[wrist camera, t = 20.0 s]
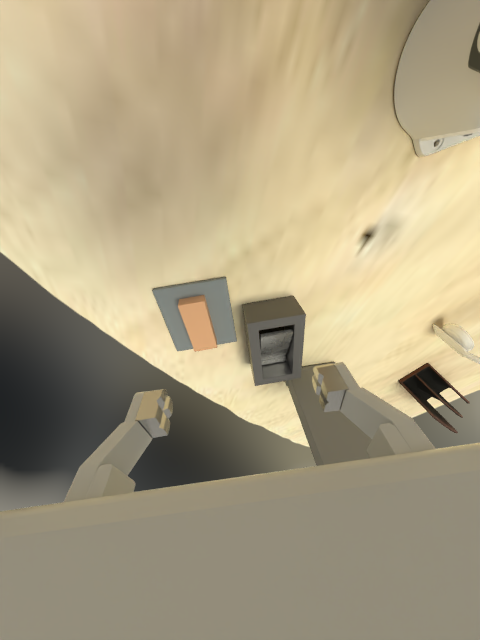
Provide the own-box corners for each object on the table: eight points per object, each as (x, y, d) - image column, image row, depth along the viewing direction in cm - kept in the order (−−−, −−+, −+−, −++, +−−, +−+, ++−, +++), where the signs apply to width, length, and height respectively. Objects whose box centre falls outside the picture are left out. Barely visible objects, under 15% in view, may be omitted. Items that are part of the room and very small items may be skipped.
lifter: (260, 334, 41) (262, 342, 40) (292, 328, 41) (294, 336, 41) (259, 358, 52) (260, 365, 51) (284, 354, 53) (286, 361, 52)
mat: (225, 276, 40) (226, 278, 40) (236, 339, 50) (236, 341, 49) (153, 288, 40) (152, 290, 39) (177, 349, 49) (177, 351, 49)
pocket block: (242, 304, 44) (247, 323, 39) (293, 295, 45) (305, 314, 39) (250, 363, 55) (255, 385, 50) (291, 356, 56) (300, 377, 50)
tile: (179, 299, 41) (177, 305, 39) (204, 294, 41) (204, 301, 39) (195, 343, 48) (194, 351, 46) (216, 340, 48) (217, 347, 46)
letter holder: (421, 398, 77) (458, 437, 66) (397, 380, 68) (434, 422, 57) (449, 382, 73) (493, 422, 62) (427, 361, 65) (473, 403, 53)
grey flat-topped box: (285, 382, 62) (321, 485, 42) (286, 368, 58) (326, 474, 38) (330, 375, 63) (388, 473, 42) (334, 361, 59) (399, 461, 39)
